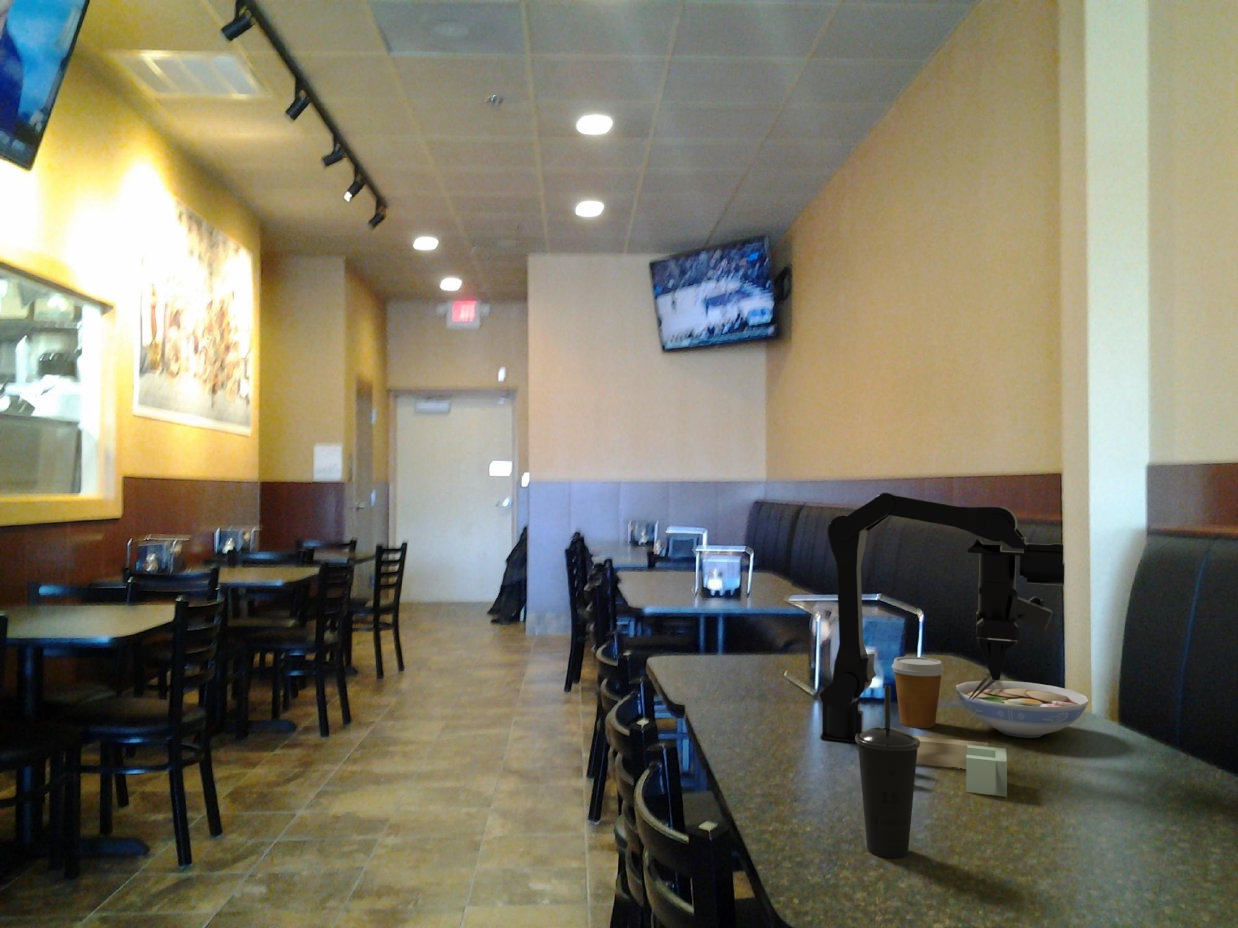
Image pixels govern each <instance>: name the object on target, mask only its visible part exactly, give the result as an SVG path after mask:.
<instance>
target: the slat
mask: <svg viewBox="0 0 1238 928" xmlns="http://www.w3.org/2000/svg"><path fill="white" fill-rule="evenodd" d="M913 736H914V737H916V738H918V739H919V740H920V746H919V748H918V749H917V760H916V765H922V764H924V766H932V767H941V766H942V767H943V768H944V767H945V768H951V767H958V768H957V769H960V768H962V769H961V770H966V756H967V745H974V746H983V747H989V742H982V741H970V740H962V739H949V738H942V737H941V738H940V737H930V736H929V737H928V736H918V735H913Z"/></svg>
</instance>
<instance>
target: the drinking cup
mask: <svg viewBox="0 0 1238 928" xmlns="http://www.w3.org/2000/svg"><path fill="white" fill-rule="evenodd" d="M914 736H915V735H912V734H910V733H908V732H907V731H905V730H902V729H899V728H895V727H891V686H890V685H884V726H878V727H872V728H869V729H866V730H865V731H864V730H863V732H861V733H858V734H857V735H856V736H855V740H856V742H855V743H857V748H858V749H857V750H858V759H859V760H858V761H859V770H860V783H861V784H860V785H861V793H862V805H863V806H862V807H863V816H864V817H863V818H864V828H865V838H866V849H867V851H868V852H869V853H870V854H871V855H874V856H877V857H880V858H886V859H900V858H901V859H902V858H904V857H906V856H908V854H909V848H910V847H909V846H910V835H911V826H912V825H911V824H912V814H913V802H914V790H915V782H916V781H915V779H916V772H917V771H916V769H917V764H916V760H917V749H918V748H919V746H920V740H919V739H918V738H916V737H914Z"/></svg>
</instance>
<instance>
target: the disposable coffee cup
mask: <svg viewBox="0 0 1238 928" xmlns="http://www.w3.org/2000/svg"><path fill="white" fill-rule="evenodd" d="M891 668H892V670H893V672H894V680H895V689H896V696H897V697H896V698H897V704H898V714H899V721H900V724H902V725H903V726H905V727H910V728H915V729H927V728H928V729H929V728H933V727H935V726H936V719H937V713H938V712H937V711H938V704H939V696H940V689H941V681H942V675H943V674H944V671H945V668H944V667H943V664H942V661H941V660H938V659H935V658H930V657H922V656H900V657H899V656H898V657H895V658H894V659H893V663H892V664H891Z"/></svg>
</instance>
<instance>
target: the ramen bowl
mask: <svg viewBox="0 0 1238 928" xmlns="http://www.w3.org/2000/svg"><path fill="white" fill-rule="evenodd" d="M990 678H991V675H990V672H987V673H986V674H985V676H984V677H983V678H982V679H981V680H976V681H966V682H962V683H960V684H957V685H955V691H956V694H957V697H958V698H959V700H960V702H961V703H962V704H963V706H964V708H965V709H966V710H967V712H968V713H969V714H970V715H971V716H973V717H974V718H975V719H976V720H978V721H980V722H981V723H983V724H985V725H986V726H988V727H991V728H993V729H996V730H997V731H998V732H1000V733H1002V734H1004V735H1006V736H1011V737H1017V738H1024V739H1026V738H1027V739H1028V738H1029V739H1031V738H1032V739H1033V738H1040V737H1042V736H1044V735H1047V734H1051V733H1054V732H1059V731H1061V730H1064V729H1065V728H1067V727H1068V726H1070V725H1072V724H1074V723H1075V722H1076V721H1077V720H1078V719H1079V718H1080V717H1081V715H1082V714H1083V713H1084V711H1085V710H1086V708H1087V707H1088V704H1089V703H1090V699H1089V698H1088V696H1087V695H1086V694H1082V693H1080V692H1077V691H1076V690H1071V689H1068V688H1065V687H1064V688H1063V687H1060V686H1054V685H1049V684H1047V685H1046V684H1041V683H1035V682H1027V681H1025V682H1024V681H1015V680H1014V681H1013V680H1011V681H1010V680H993V679H992V678H991V679H990ZM989 679H990V680H989Z"/></svg>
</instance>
